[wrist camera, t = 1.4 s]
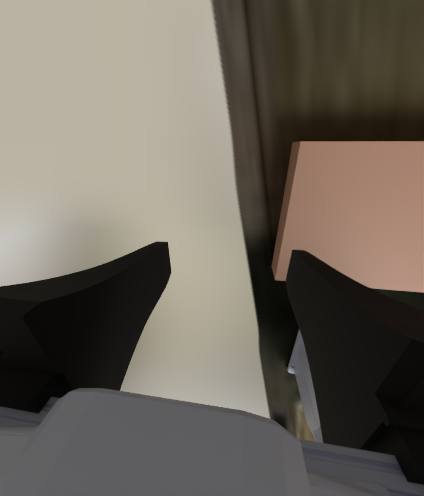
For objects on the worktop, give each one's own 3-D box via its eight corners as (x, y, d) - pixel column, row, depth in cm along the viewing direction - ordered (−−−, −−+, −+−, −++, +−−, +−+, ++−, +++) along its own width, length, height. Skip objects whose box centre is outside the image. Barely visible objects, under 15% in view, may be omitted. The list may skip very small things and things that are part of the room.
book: (421, 275, 20) (448, 294, 17) (270, 264, 22) (274, 280, 19) (501, 142, 14) (559, 140, 12) (291, 142, 16) (300, 141, 14)
